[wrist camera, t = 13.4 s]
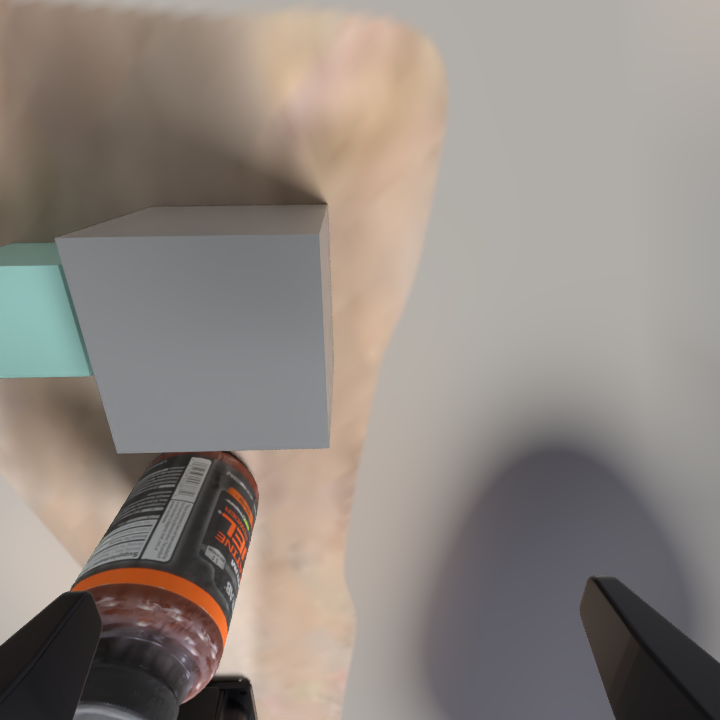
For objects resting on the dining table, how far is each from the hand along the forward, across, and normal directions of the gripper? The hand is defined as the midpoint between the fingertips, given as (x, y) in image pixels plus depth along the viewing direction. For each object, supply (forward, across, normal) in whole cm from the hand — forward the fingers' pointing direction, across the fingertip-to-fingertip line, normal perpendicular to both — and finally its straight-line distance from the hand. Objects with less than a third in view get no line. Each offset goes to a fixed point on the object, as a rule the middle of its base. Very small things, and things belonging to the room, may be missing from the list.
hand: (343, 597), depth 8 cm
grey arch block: (+13, +4, -2) cm, 14 cm away
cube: (+13, +11, -2) cm, 17 cm away
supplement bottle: (+13, +7, +8) cm, 17 cm away
